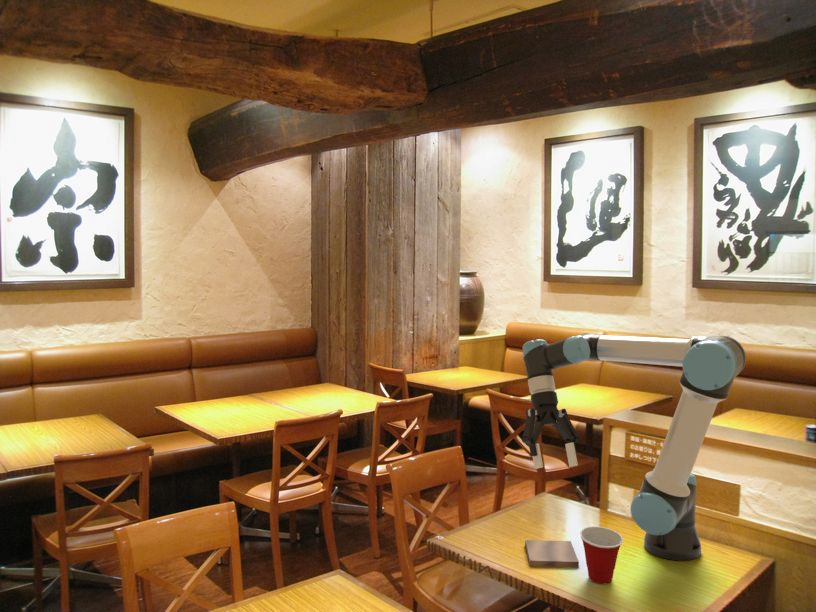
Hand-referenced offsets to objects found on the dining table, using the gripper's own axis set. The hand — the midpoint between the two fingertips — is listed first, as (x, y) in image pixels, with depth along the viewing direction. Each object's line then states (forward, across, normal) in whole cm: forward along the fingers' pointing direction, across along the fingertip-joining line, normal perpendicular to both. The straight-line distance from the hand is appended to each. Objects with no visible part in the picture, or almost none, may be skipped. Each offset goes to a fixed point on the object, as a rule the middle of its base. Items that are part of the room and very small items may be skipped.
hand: (556, 467), depth 189 cm
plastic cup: (+30, -2, +6) cm, 31 cm away
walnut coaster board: (+23, -1, -9) cm, 25 cm away
